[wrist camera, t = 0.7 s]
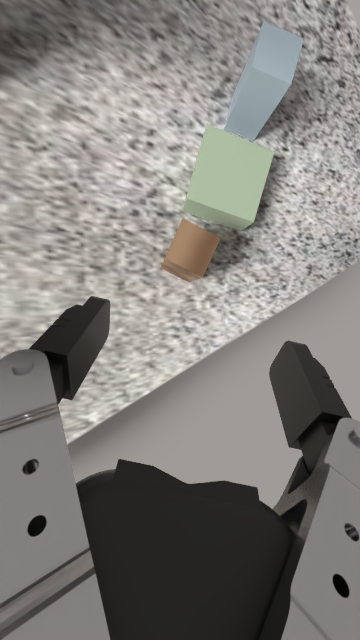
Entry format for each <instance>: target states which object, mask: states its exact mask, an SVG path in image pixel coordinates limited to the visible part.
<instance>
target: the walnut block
mask: <svg viewBox="0 0 360 640" xmlns="http://www.w3.org/2000/svg"><path fill="white" fill-rule="evenodd" d="M220 239H221V238H219V237H217V236H216V235H214V234H212V233H210V232H208V231H206V230H204V229H202V228H200V227H198V226H197V225H195V224H193V223H191V222H189V221H187V220H185V219H182V221H181V223H180V226H179V228H178V230H177V232H176V235H175V237H174V239H173V241H172V243H171V246H170V248H169V250H168V252H167V255H166V257H165V259H164V262H163V264H162V267H161V269H163V270H165V271H167V272H169V273H172V274H174V275H176V276H178V277H180V278H182V279H184V280H186V281H188V282H190V281H193V280H196V279H199V278H201V277H203V276H204V274H205V272H206V269H207V267H208V265H209V263H210V261H211V258H212V256H213V254H214V252H215V250H216V248H217V245H218V243H219V241H220Z"/></svg>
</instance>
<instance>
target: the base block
mask: <svg viewBox="0 0 360 640" xmlns="http://www.w3.org/2000/svg"><path fill="white" fill-rule="evenodd" d="M273 155H274V151H272V150H269V149H267V148H264V147H262V146H259V145H257V144H254V143H252V142H249V141H247V140H245V139H242V138H240V137H237V136H235V135H232V134H230V133H227V132H225V131H223V130H220V129H218V128H215V127H213V126H210V125H208V124H207V127H206V130H205V133H204V136H203V139H202V142H201V145H200V148H199V152H198V156H197V159H196V163H195V167H194V170H193V174H192V178H191V181H190V185H189V188H188V192H187V196H186V199H185V203H184V207H183V210H182V211H184V212H186V213H189V214H192V215H195V216H198V217H201V218H204V219H207V220H210V221H213V222H216V223H218V224H221V225H224V226H227V227H230V228H233V229H236V230H239V231H242V230H244V229H245V228H246V227H248V226H249V225H251V224H252V223H253V222H254V220H255V216H256V213H257V209H258V206H259V203H260V199H261V196H262V192H263V189H264V186H265V182H266V179H267V175H268V172H269V168H270V165H271V162H272V158H273Z"/></svg>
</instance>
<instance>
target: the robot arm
mask: <svg viewBox="0 0 360 640" xmlns="http://www.w3.org/2000/svg"><path fill="white" fill-rule="evenodd" d="M109 326H110V301H109V300H107V299H102V298H98V297H94V296H91V297H90V298H89V299H88V300H87V301H86V303H85V304H84V305H83V306H81V305H75V306H73V307H71V308H69V309H67V310H65V312H64V313H63V314H62V315H61V316H60V317H59V319H57V320H56V321H55V322H54V323H53V325H51V326H50V327H49V328H48V329H47V330H46V332H45V333H44V334H43V335H42V336H41V337H40V338H39V339H38V340H37V341H36V342H35V343H34V344H33V345H32V346H31V347H30V348H29V349H25V350H19V351H15V352H13V353H10V354H8V355H6V356H5V357H3V358H2V359H1V360H0V640H360V422H359V421H357V420H354V419H352V418H351V416H350V414H349V412H348V410H347V408H346V407H345V405H344V403H343V401H342V399H341V398H340V396H339V394H338V392H337V390H336V389H335V388H334V385H333V383H332V381H331V380H330V377H329V375H328V374H327V372H326V370H325V368H324V367H323V366H322V365H321V364H320V363H319V362H318V361H317V360H316V359H315V358H313V357H312V355H311V353H310V351H309V349H308V347H307V346H306V345H305V344H301V343H296V342H292V341H286V342H285V343H284V345H283V346H282V348H281V350H280V351H279V353H278V355H277V356H276V358H275V359H274V361H273V363H272V365H271V367H270V380H271V384H272V387H273V391H274V395H275V398H276V402H277V406H278V409H279V413H280V417H281V420H282V424H283V428H284V431H285V435H286V439H287V442H288V446H289V447H291V448H296V449H300V450H302V453H303V456H301V457H300V458H299V460H298V462H297V464H296V466H295V469H294V471H293V473H292V475H291V477H290V479H289V481H288V484H287V485H286V488H285V490H284V492H283V494H282V496H281V498H280V500H279V501H278V502H277V504H276V505H275V506H274V508H273V509H271V508H270V507H269V506H267V505H266V504H264V503H263V502H261V501H260V500H259V496H258V489H257V488H256V487H252V486H247V485H242V484H237V483H232V482H228V481H217V482H207V483H197V484H187V483H184V482H182V481H180V480H178V479H176V478H175V477H173V476H171V475H169V474H167V473H165V472H163V471H161V470H159V469H157V468H156V467H154V466H150V465H145V464H141V463H136V462H131V461H126V460H121V459H119V460H118V464H117V467H116V469H114V470H107V471H103V472H99V473H96V474H93V475H90V476H88V477H86V478H85V479H83V480H81V481H79V482H78V483H76V484H75V479H74V474H73V470H72V465H71V461H70V457H69V452H68V447H67V443H66V438H65V433H64V429H63V424H62V420H61V415H60V411H59V407H58V404H59V403H60V401H61V399H62V398H65V399H69V400H72V399H73V398H74V396H75V394H76V392H77V391H78V389H79V387H80V385H81V384H82V382H83V380H84V378H85V377H86V375H87V373H88V371H89V370H90V368H91V366H92V364H93V363H94V361H95V359H96V357H97V356H98V354H99V352H100V350H101V349H102V347H103V345H104V343H105V342H106V339H107V337H108V333H109Z"/></svg>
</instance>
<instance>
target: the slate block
mask: <svg viewBox="0 0 360 640" xmlns="http://www.w3.org/2000/svg"><path fill="white" fill-rule="evenodd" d="M303 40H304V39H302V38H300V37H298V36H296V35H294V34H292V33H290V32H288V31H286V30H283V29H281V28H279V27H277V26H275V25H273V24H271V23H269V22H267V21H265V20H264V22H263V24H262V27H261V29H260V31H259V34H258V36H257V39H256V41H255V43H254V46H253V48H252V51H251V53H250V55H249V58H248V60H247V63H246V65H245V67H244V70H243V72H242V75H241V77H240V80H239V82H238V84H237V87H236V89H235V92H234V94H233V97H232V100H231V104H230V108H229V112H228V116H227V120H226V123H225V127H224V130H227V131H230V132H232V133H235V134H237V135H240V136H242V137H245V138H248V139H250V140H253V141H254V139H255V138H256V136H257V135H258V133H259V132H260V130H261V129H262V127H263V126H264V124H265V123H266V121H267V120H268V118H269V117H270V115H271V114H272V112H273V111H274V110H275V108H276V107H277V105H278V104H279V102H280V101H281V99H282V98H283V96H284V95H285V93H286V92H287V90H288V89H289V87H290V86H291V84H292V80H293V77H294V73H295V69H296V66H297V62H298V58H299V55H300V51H301V48H302V44H303Z"/></svg>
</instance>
